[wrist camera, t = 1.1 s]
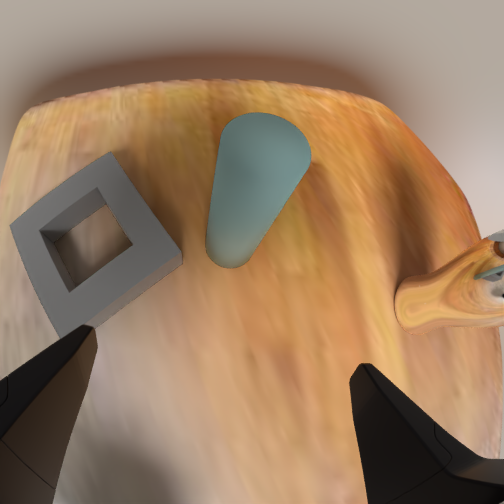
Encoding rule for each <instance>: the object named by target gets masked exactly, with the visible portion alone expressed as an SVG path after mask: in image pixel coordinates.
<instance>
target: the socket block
mask: <svg viewBox="0 0 504 504" xmlns="http://www.w3.org/2000/svg"><path fill="white" fill-rule="evenodd" d="M105 204H107V206H108V208H109V209H110V211H111V212H112V214H113V216H114V217H115V219H116V220H117V222H118V224H119V225H120V227H121V228H122V230H123V231H124V233H125V235H126V236H127V238H128V239H129V241H130V242H131V244H132V246H131V247H129V248H128V249H127V250H125V251H124V252H123V253H121V254H120V255H118V256H117V257H116V258H114V259H113V260H112V261H110V262H109V263H107V264H106V265H105V266H103V267H102V268H101V269H99V270H98V271H97V272H95V273H94V274H93V275H92V276H90V277H89V278H88V279H86V280H85V281H84V282H82V283H81V284H80V285H79V286H77V287H76V286H75V284H74V282H73V280H72V278H71V277H70V275H69V273H68V271H67V269H66V267H65V265H64V263H63V261H62V259H61V257H60V255H59V253H58V251H57V249H56V247H55V245H54V242H55V241H56V240H58V239H59V238H60V237H61V236H63V235H64V234H65V233H67V232H68V231H69V230H71V229H72V228H73V227H75V226H76V225H77V224H79V223H80V222H81V221H83V220H84V219H85V218H87V217H88V216H90V215H91V214H92V213H94V212H95V211H97V210H98V209H99V208H101V207H102V206H104V205H105ZM10 228H11V231H12V234H13V237H14V240H15V243H16V246H17V248H18V251H19V254H20V256H21V259H22V261H23V264H24V266H25V269H26V271H27V273H28V276H29V278H30V280H31V283H32V285H33V287H34V289H35V291H36V294H37V296H38V298H39V300H40V302H41V304H42V306H43V308H44V310H45V312H46V314H47V316H48V318H49V319H50V321H51V323H52V325H53V327H54V329H55V330H56V332H57V334H58V336H59V337H60V339H61V338H62V337H64V336H65V335H67V334H68V333H70V332H71V331H73V330H74V329H76V328H77V327H79V326H80V325H82V324H85V325H89V326H93V327H94V328H95V329H96V328H97V327H98V326H99V325H101V324H102V323H103V322H105V321H106V320H107V319H109V318H110V317H111V316H112V315H114V314H115V313H116V312H118V311H119V310H120V309H122V308H123V307H124V306H126V305H127V304H128V303H130V302H131V301H132V300H134V299H135V298H136V297H138V296H139V295H140V294H142V293H143V292H144V291H146V290H147V289H148V288H150V287H151V286H153V285H154V284H155V283H157V282H158V281H159V280H161V279H162V278H163V277H165V276H166V275H168V274H169V273H170V272H172V271H173V270H174V269H176V268H177V267H179V266H180V265H181V264H183V260H182V252H181V250H180V249H179V248H178V246H177V245H176V244H175V242H174V241H173V240H172V238H171V237H170V236H169V234H168V233H167V232H166V230H165V229H164V227H163V226H162V225H161V223H160V222H159V221H158V219H157V218H156V216H155V215H154V214H153V212H152V211H151V209H150V208H149V207H148V205H147V204H146V202H145V201H144V200H143V198H142V197H141V195H140V194H139V192H138V191H137V189H136V188H135V187H134V185H133V184H132V182H131V181H130V179H129V178H128V176H127V175H126V173H125V172H124V170H123V169H122V167H121V166H120V165H119V163H118V162H117V160H116V158H115V157H114V155H113V154H112V152H111V151H110V152H108V153H107V154H105V155H104V156H102V157H100V158H99V159H97V160H96V161H94V162H93V163H91V164H89V165H88V166H86V167H85V168H83V169H82V170H80V171H79V172H77V173H76V174H75V175H73V176H72V177H70V178H69V179H67V180H66V181H65V182H63V183H62V184H60V185H59V186H58V187H56V188H55V189H54V190H52V191H51V192H50V193H48V194H47V195H46V196H44V197H43V198H42V199H40V200H39V201H38V202H37V203H35V204H34V205H33V206H32V207H30V208H29V209H28V210H27V211H26V212H24V213H23V214H22V215H21V216H20V217H18V218H17V219H16V220H15V221H14V222H13V223H12V224H10Z"/></svg>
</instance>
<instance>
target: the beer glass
mask: <svg viewBox="0 0 504 504" xmlns="http://www.w3.org/2000/svg"><path fill="white" fill-rule="evenodd" d="M394 305H395V313H396V317H397V319H398V321H399V323H400V325H401V326H402V328H403V329H404V330H405V331H406V332H408V333H410V334H412V335H421V334H425V333H427V332H429V331H432V330H434V329H437V328H441V327H462V328H493V327H500V326H504V230H502V231H499V232H497V233H494V234H492V235H490V236H488V237H486V238H484V239H482V240H480V241H478V242H476V243H474V244H473V245H471V246H470V247H468V248H467V249H465V250H464V251H462V252H461V253H460V254H458V255H457V256H456V257H454V258H453V259H452V260H450V261H449V262H447V263H446V264H445V265H443V266H442V267H440V268H439V269H437V270H436V271H434V272H431V273H428V274H424V275H415V276H410V277H408V278H406V279H404V280H403V281H402V282H401V283H400V285H399V286H398V288H397V291H396V294H395V302H394Z"/></svg>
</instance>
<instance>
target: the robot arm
mask: <svg viewBox="0 0 504 504" xmlns="http://www.w3.org/2000/svg"><path fill="white" fill-rule="evenodd" d="M97 348H98V344H97V338H96V332H95V328H94V327H93V326H89V325H85V324H82V325H80V326H79V327H77V328H76V329H74V330H73V331H71V332H70V333H68V334H67V335H65V336H64V337H62V338H61V339H59V340H58V341H56V342H55V343H54V344H52V345H51V346H49V347H48V348H46V349H45V350H43V351H42V352H40V353H39V354H37V355H36V356H35V357H33V358H32V359H30V360H29V361H27V362H26V363H25V364H23V365H22V366H20V367H19V368H17V369H16V370H15V371H13V372H12V373H10V374H9V375H8V376H6V377H5V378H3V379H2V380H0V504H52V503H53V499H54V495H55V489H56V486H57V482H58V478H59V474H60V470H61V467H62V463H63V459H64V456H65V453H66V449H67V446H68V443H69V440H70V436H71V433H72V430H73V427H74V424H75V421H76V418H77V415H78V413H79V410H80V407H81V404H82V401H83V399H84V396H85V393H86V390H87V387H88V383H89V379H90V375H91V371H92V368H93V364H94V360H95V357H96V353H97ZM349 385H350V394H351V403H352V414H353V421H354V426H355V431H356V436H357V441H358V447H359V452H360V458H361V463H362V469H363V475H364V481H365V487H366V494H367V500H368V504H504V459H487V458H483V457H481V456H478V455H477V454H475V453H474V452H473V451H471V450H470V449H469V448H467V447H466V446H465V445H463V444H462V443H461V442H459V441H458V440H457V439H455V438H454V437H453V436H451V435H450V434H449V433H448V432H447V431H445V430H444V429H443V428H442V427H441V426H440V425H439V424H437V423H436V422H435V421H434V420H433V419H432V418H431V417H430V416H429V415H427V414H426V413H425V412H424V411H423V410H422V409H421V408H420V407H419V406H417V405H416V404H415V403H414V402H413V401H412V400H411V399H410V398H409V397H408V396H406V395H405V394H404V393H403V392H402V391H401V390H400V389H399V388H398V387H396V386H395V385H394V384H393V383H392V382H391V381H390V380H389V379H388V378H387V377H385V376H384V375H383V374H382V373H381V372H380V371H379V370H378V369H377V368H376V367H374V366H373V365H372V364H370V363H361V364H359V366H358V367H357V369H356V370H355V372H354V373H353V375H352V376H351V378H350V382H349Z"/></svg>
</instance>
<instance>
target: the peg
mask: <svg viewBox="0 0 504 504" xmlns="http://www.w3.org/2000/svg"><path fill="white" fill-rule="evenodd" d="M310 162H311V149H310V146H309V143H308V141H307V139H306V138H305V136H304V135H303V133H302V132H301V131H300V130H299V129H298V128H297V127H296V126H295V125H293V124H292V123H290V122H289V121H287V120H285V119H283V118H281V117H278V116H276V115H272V114H267V113H248V114H244V115H241V116H238V117H236V118H234V119H233V120H231V121H230V122H229V123H228V124H227V125H226V126H225V128H224V129H223V131H222V134H221V138H220V144H219V150H218V156H217V163H216V169H215V176H214V182H213V189H212V196H211V203H210V211H209V218H208V226H207V234H206V242H205V247H206V251H207V254H208V256H209V257H210V259H211V260H212V261H213V262H214V263H215V264H217V265H219V266H221V267H224V268H237V267H240V266H242V265H244V264H245V263H246V262H247V261H248V260H249V259H250V257H251V256H252V254H253V253H254V251H255V250H256V248H257V247H258V245H259V244H260V242H261V240H262V239H263V237H264V236H265V234H266V233H267V231H268V230H269V228H270V226H271V225H272V223H273V222H274V220H275V219H276V217H277V216H278V214H279V213H280V211H281V209H282V208H283V206H284V205H285V203H286V202H287V200H288V199H289V197H290V195H291V194H292V192H293V191H294V189H295V188H296V186H297V185H298V183H299V181H300V180H301V178H302V177H303V175H304V174H305V172H306V171H307V169H308V167H309V165H310Z"/></svg>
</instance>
